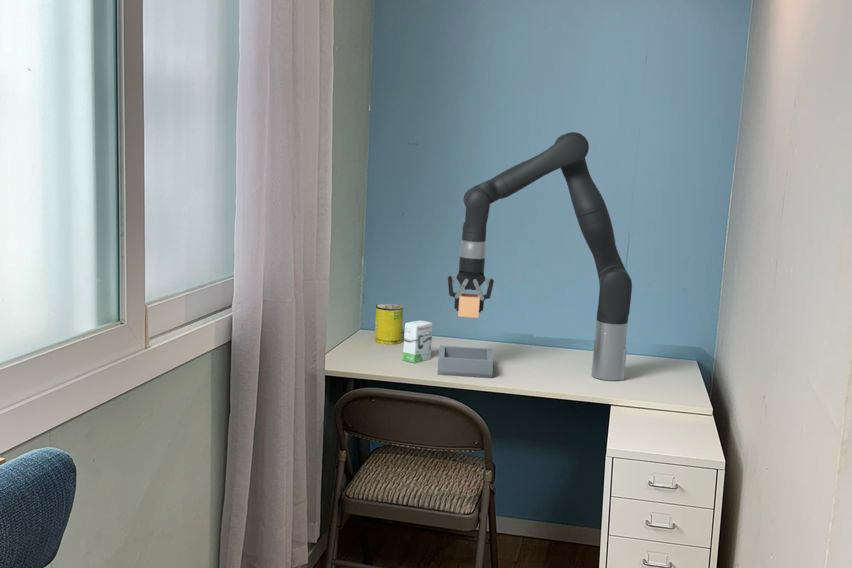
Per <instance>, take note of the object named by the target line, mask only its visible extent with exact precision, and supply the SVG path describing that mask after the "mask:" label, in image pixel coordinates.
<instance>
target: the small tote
mask: <svg viewBox="0 0 852 568" xmlns="http://www.w3.org/2000/svg"><path fill="white" fill-rule="evenodd" d="M479 303H480V297H479V295H478V293H464V292H462V293H461V295H460V296H459V311H457V312H458V313H457V317H462V318H473V319H479Z"/></svg>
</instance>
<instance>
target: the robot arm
mask: <svg viewBox="0 0 852 568" xmlns="http://www.w3.org/2000/svg"><path fill="white" fill-rule="evenodd" d="M589 149H590V145H589V141H588V139H587V137H585V136H584V135H583V134H582V133H579V132H575V131H574V132H573V131H570V132H566V133H564V134H561V135H560V136H559V137H557V138H556V140H555V142H554V144H553V145H551V146H550V147H549V148H547V149H546V150H543V151H542V152H540V153H539V154H537V155H535V156H533V157H531V158H529V159H527V160H525V161H521V162H520V163H518V164H516V165H514V166H512V167H509V168H507V169H506V170H504V171H503V172H501V173H499V174H496V176H494V177H493V178H491V179H488V180H486V181H484V182H481V183H478V184H476V185H474V186H472V187H470V188H469V189H468V190H467V191H466V192H465V193H464V195H463V204H464V206H465V219H464V222H463V224H462V231H461V232H462V233H461V242H460V250H459V263H458V273H457V274H456V275H448V277H447V283H448V287H447V288H448V295H449V297H453V298H454V306H453V307H454V309H455V310H456V312H458V311H459V297H460V295H461V293H463V292H464V290H470V291H471V290H472V291H476V294H478V295H479V297H480V303H479V313H481V312H483V310H484V305H485V303H484V302H485V300H489V299H490V298H491V297H492V296H491V295H492V291H493V287H494V283H495V282H494V281H495V279H494V278H493V277H491V278H489V277H486V276H485V266H486V265H485V264H486V254H487V253H486V252H487V251H486V250H487V248H486V241H487V224H488V218H489V213H490V207H491V204H492V203H495V202H497V201H498V200H502V199H505V198H508V197H510V196H512V195H513V194H516V193H517V192H520V191H522V190H523V189H524V188H526V187H528V186H529V185H531V184H533V183H534V182H536V181H538V180H540V179H541V178H543V177H544V176H546V175H548V174H551V173H553V172H555V171H558V169H560V171H561V172H562V174H563V177H564V180H565V182H566V185H567V188H568V192H569V196H570V199H571V200H570V201H571V203H572V207H573V210H574V214H575V216H576V220H577V223H578V225H579V228H580V231H581V234H582V235H583V238H584V240H585V242H586V244H587V246H588V248H589V250H590V252H591V253H592V256H593V260H594V263H595V267H596V272H597V276H598V277H597V278H598V283H599V293H598V294H599V295H598V304H597V312H596V321H595V331H594V343H593V355H592V366H591V367H592V368H591V376H592V378H595V379H598V380H603V381H613V382H614V381H625V373H626V371H625V370H626V361H627V352H628V351H627V348H626V344H627V343H626V342H627V334H628V322H629V316H630V310H631V301H632V291H633V283H632V279H631V276H630V274H629V273H628V271H627V269H626V267H625V266H624V262H623V260H622V259H621V256H620V254H619V251H618V249H617V244H616V239H615V234H614V233H615V232H614V227H613V224H612V220H611V217H610V213H609V210H608V208H607V204H606V202H605V200H604V198H603V195H602V194H601V192H600V190H599V188H598V187H597V186H596V183H595V182H594V180H593V179H592V177H591V173H590V171H589V168H588V164H587V160H586V157H587V155H588V154H589ZM456 280H457V282H458V283H459V284H460V285H459V286H458V289H457V291H456V292H455V291H454V285H453V284H454V283H455V282H456ZM483 283H485V284H486V286H487V289H486V293H485V294H484V293H483V291H482V288H481V287H482V285H483Z"/></svg>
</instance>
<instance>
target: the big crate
mask: <svg viewBox="0 0 852 568" xmlns="http://www.w3.org/2000/svg"><path fill="white" fill-rule="evenodd" d="M437 359H438V361H437V376H438V375H439V376H449V377H450V376H452V377H465V378H467V377H469V378H484V379H492V378H493V371H494V370H493V369H494V368H493V367H494V358H493V349H492V348H486V347H468V346H452V345H440V346H439V352H438V358H437Z"/></svg>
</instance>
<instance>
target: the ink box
mask: <svg viewBox="0 0 852 568" xmlns="http://www.w3.org/2000/svg"><path fill="white" fill-rule="evenodd" d="M433 326H434V324H433V322H430V321H426V320H422V319H421V320H415V321H409V322H406V323H405V324H404V334H403V337H404V338H403V350H402V351H403V353H402V361H405V362H409V363H412V364H416V363H421V362H424V361H428V360H431V359H432V347H433V346H432V344H433V343H432V341H433Z"/></svg>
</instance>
